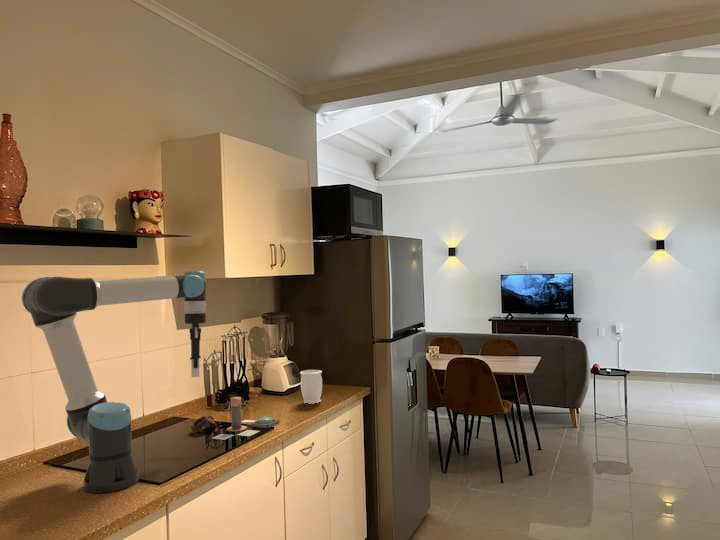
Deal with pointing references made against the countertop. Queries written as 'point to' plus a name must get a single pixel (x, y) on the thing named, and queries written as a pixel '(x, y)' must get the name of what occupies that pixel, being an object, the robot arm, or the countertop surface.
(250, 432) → the colouring board
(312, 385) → the jar
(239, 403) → the marker
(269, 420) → the button
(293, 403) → the countertop surface
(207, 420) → the dark brown rock
